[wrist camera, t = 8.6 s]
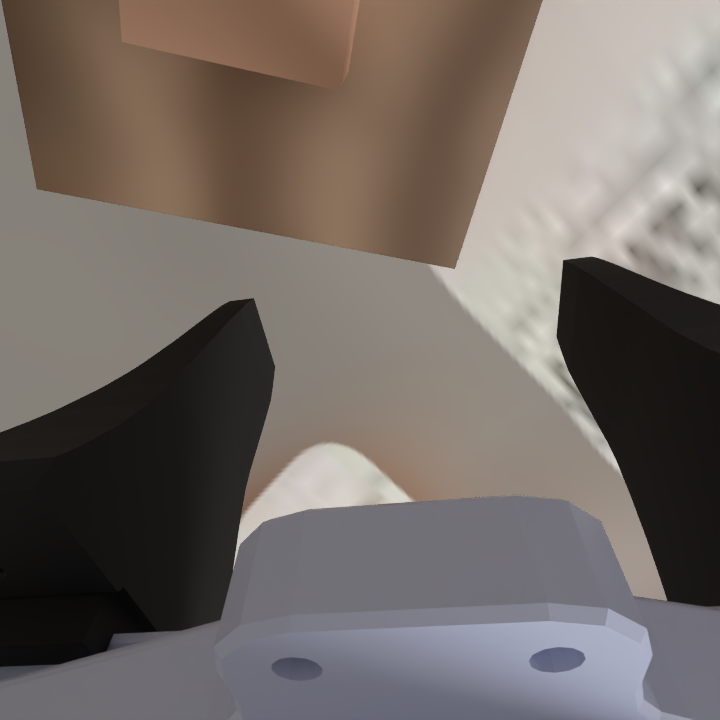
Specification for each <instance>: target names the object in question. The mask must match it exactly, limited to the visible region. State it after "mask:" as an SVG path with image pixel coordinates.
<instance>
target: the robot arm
mask: <svg viewBox="0 0 720 720" xmlns="http://www.w3.org/2000/svg"><path fill="white" fill-rule="evenodd" d="M557 339H558V342H559V345H560V348H561V351H562V354H563V357H564V360H565V363H566V365H567V368H568V371H569V373H570V374H571V376H572V378H573V380H574V382H575V384H576V386H577V388H578V389H579V391H580V393H581V395H582V397H583V399H584V401H585V402H586V404H587V406H588V408H589V410H590V411H591V413H592V415H593V417H594V419H595V420H596V422H597V424H598V426H599V428H600V429H601V431H602V433H603V435H604V437H605V439H606V440H607V442H608V444H609V446H610V448H611V450H612V452H613V454H614V456H615V458H616V460H617V463H618V465H619V468H620V470H621V473H622V475H623V478H624V480H625V483H626V485H627V488H628V490H629V493H630V495H631V498H632V500H633V503H634V506H635V508H636V511H637V514H638V517H639V519H640V522H641V525H642V527H643V530H644V533H645V535H646V538H647V541H648V544H649V546H650V549H651V553H652V556H653V559H654V561H655V564H656V567H657V570H658V573H659V576H660V579H661V582H662V585H663V588H664V591H665V594H666V598H667V601H663V600H657V599H649V598H643V597H636V596H633V595H632V592H631V590H630V588H629V586H628V583H627V581H626V579H625V576H624V574H623V571H622V569H621V567H620V564H619V562H618V560H617V557H616V555H615V553H614V551H613V548H612V546H611V543H610V541H609V539H608V536H607V534H606V532H605V530H604V527H603V525H602V523H601V521H599V520H598V519H596V518H595V517H593V516H591V515H590V514H588V513H587V512H585V511H583V510H581V509H580V508H578V507H577V506H575V505H573V504H572V503H570V502H568V501H566V500H561V499H554V498H545V497H533V496H524V495H502V496H490V497H474V498H461V499H447V500H433V501H420V502H405V503H392V504H378V505H364V506H350V507H336V508H323V509H309V510H305V511H301V512H297V513H293V514H289V515H286V516H282V517H278V518H274V519H270V520H268V521H265V522H263V523H262V524H261V525H260V526H259V527H258V528H257V529H256V530H254V531H253V532H252V533H251V534H250V535H249V536H248V537H247V538H246V539H245V540H244V541H243V542H242V543H241V544H240V547H239V550H238V554H237V558H236V562H235V566H234V558H235V551H236V545H237V538H238V531H239V524H240V518H241V512H242V506H243V501H244V495H245V489H246V485H247V481H248V477H249V473H250V469H251V466H252V463H253V459H254V456H255V453H256V449H257V446H258V442H259V439H260V436H261V432H262V429H263V426H264V422H265V419H266V415H267V412H268V408H269V404H270V401H271V395H272V388H273V380H274V371H275V365H274V362H273V359H272V355H271V352H270V349H269V346H268V343H267V339H266V336H265V333H264V330H263V326H262V323H261V320H260V317H259V314H258V310H257V307H256V304H255V301H254V299H244V300H236V301H229V302H228V303H226V304H224V305H222V306H221V307H219V308H218V309H216V310H215V311H213V312H212V313H211V314H209V315H208V316H207V317H206V318H204V319H203V320H201V321H200V322H199V323H198V324H196V325H195V326H194V327H192V328H191V329H190V330H188V331H187V332H186V333H184V334H183V335H182V336H181V337H179V338H178V339H177V340H175V341H174V342H173V343H171V344H170V345H168V346H167V347H165V348H164V349H162V350H161V351H160V352H158V353H157V354H155V355H154V356H153V357H151V358H150V359H148V360H147V361H146V362H144V363H142V364H141V365H139V366H138V367H136V368H135V369H133V370H131V371H130V372H128V373H127V374H125V375H123V376H122V377H120V378H118V379H116V380H114V381H113V382H111V383H109V384H108V385H106V386H104V387H102V388H100V389H98V390H96V391H94V392H92V393H90V394H88V395H86V396H84V397H82V398H80V399H78V400H76V401H74V402H72V403H70V404H68V405H66V406H64V407H62V408H59V409H57V410H55V411H53V412H51V413H48V414H46V415H43V416H41V417H39V418H36V419H34V420H32V421H29V422H26V423H24V424H21V425H19V426H16V427H14V428H11V429H9V430H6V431H3V432H1V433H0V720H720V305H719V304H716V303H713V302H710V301H707V300H704V299H701V298H699V297H696V296H693V295H690V294H687V293H684V292H682V291H679V290H676V289H674V288H671V287H669V286H666V285H664V284H661V283H659V282H656V281H654V280H651V279H649V278H647V277H644V276H642V275H639V274H637V273H635V272H632V271H630V270H627V269H625V268H623V267H620V266H618V265H615V264H613V263H610V262H608V261H605V260H602V259H599V258H595V257H585V258H577V259H569V260H563V270H562V281H561V293H560V304H559V315H558V327H557ZM233 566H234V570H233Z"/></svg>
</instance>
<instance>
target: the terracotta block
mask: <svg viewBox="0 0 720 720" xmlns="http://www.w3.org/2000/svg"><path fill="white" fill-rule="evenodd" d="M358 7H359V0H119V11H120V25H121V39H122V42H124V43H128V44H133V45H137V46H142V47H146V48H150V49H155V50H159V51H164V52H168V53H173V54H177V55H182V56H186V57H191V58H195V59H200V60H204V61H209V62H213V63H218V64H222V65H227V66H231V67H236V68H240V69H245V70H249V71H253V72H258V73H262V74H267V75H271V76H276V77H280V78H285V79H289V80H294V81H298V82H303V83H307V84H312V85H316V86H321V87H325V88H330V89H334V90H339V91H340V89H341V87H342V84H343V82H344V80H345V78H346V76H347V74H348V70H349V64H350V58H351V51H352V45H353V39H354V32H355V26H356V19H357V13H358Z"/></svg>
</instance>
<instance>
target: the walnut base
mask: <svg viewBox="0 0 720 720" xmlns="http://www.w3.org/2000/svg"><path fill="white" fill-rule="evenodd" d="M541 3H542V0H359V7H358V13H357V19H356V26H355V32H354V39H353V45H352V51H351V58H350V64H349V70H348V74H347V76H346V78H345V80H344V82H343V84H342V87H341V89H340V91H339V90H334V89H330V88H325V87H321V86H316V85H312V84H307V83H303V82H298V81H294V80H289V79H285V78H280V77H276V76H271V75H267V74H262V73H258V72H253V71H249V70H245V69H240V68H236V67H231V66H227V65H222V64H218V63H213V62H209V61H204V60H200V59H195V58H191V57H186V56H182V55H177V54H173V53H168V52H164V51H159V50H155V49H150V48H146V47H142V46H137V45H133V44H128V43H124V42H122V39H121V25H120V11H119V0H2V6H3V11H4V16H5V21H6V26H7V32H8V37H9V43H10V48H11V53H12V59H13V64H14V69H15V75H16V80H17V85H18V91H19V96H20V101H21V106H22V112H23V117H24V122H25V128H26V133H27V138H28V144H29V149H30V154H31V160H32V165H33V170H34V176H35V180H36V187H37V189H40V190H45V191H50V192H55V193H61V194H66V195H71V196H76V197H81V198H87V199H92V200H98V201H102V202H108V203H113V204H118V205H124V206H128V207H134V208H139V209H144V210H149V211H155V212H160V213H165V214H171V215H176V216H181V217H186V218H192V219H197V220H202V221H207V222H213V223H217V224H223V225H228V226H233V227H238V228H244V229H249V230H254V231H259V232H265V233H270V234H275V235H280V236H286V237H291V238H296V239H301V240H307V241H312V242H317V243H322V244H328V245H333V246H338V247H343V248H349V249H354V250H359V251H364V252H369V253H375V254H380V255H385V256H390V257H396V258H401V259H406V260H411V261H417V262H422V263H427V264H432V265H438V266H443V267H448V268H453V269H455V267H456V263H457V260H458V257H459V254H460V251H461V248H462V245H463V242H464V239H465V236H466V233H467V230H468V227H469V224H470V221H471V218H472V215H473V211H474V208H475V205H476V202H477V199H478V196H479V193H480V190H481V187H482V184H483V181H484V178H485V175H486V172H487V169H488V166H489V163H490V159H491V156H492V153H493V150H494V147H495V144H496V141H497V138H498V135H499V132H500V129H501V126H502V123H503V120H504V117H505V114H506V111H507V107H508V104H509V101H510V98H511V95H512V92H513V89H514V86H515V83H516V80H517V77H518V74H519V71H520V68H521V65H522V62H523V59H524V55H525V52H526V49H527V46H528V43H529V40H530V37H531V34H532V31H533V28H534V25H535V22H536V19H537V16H538V13H539V10H540V7H541Z"/></svg>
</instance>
